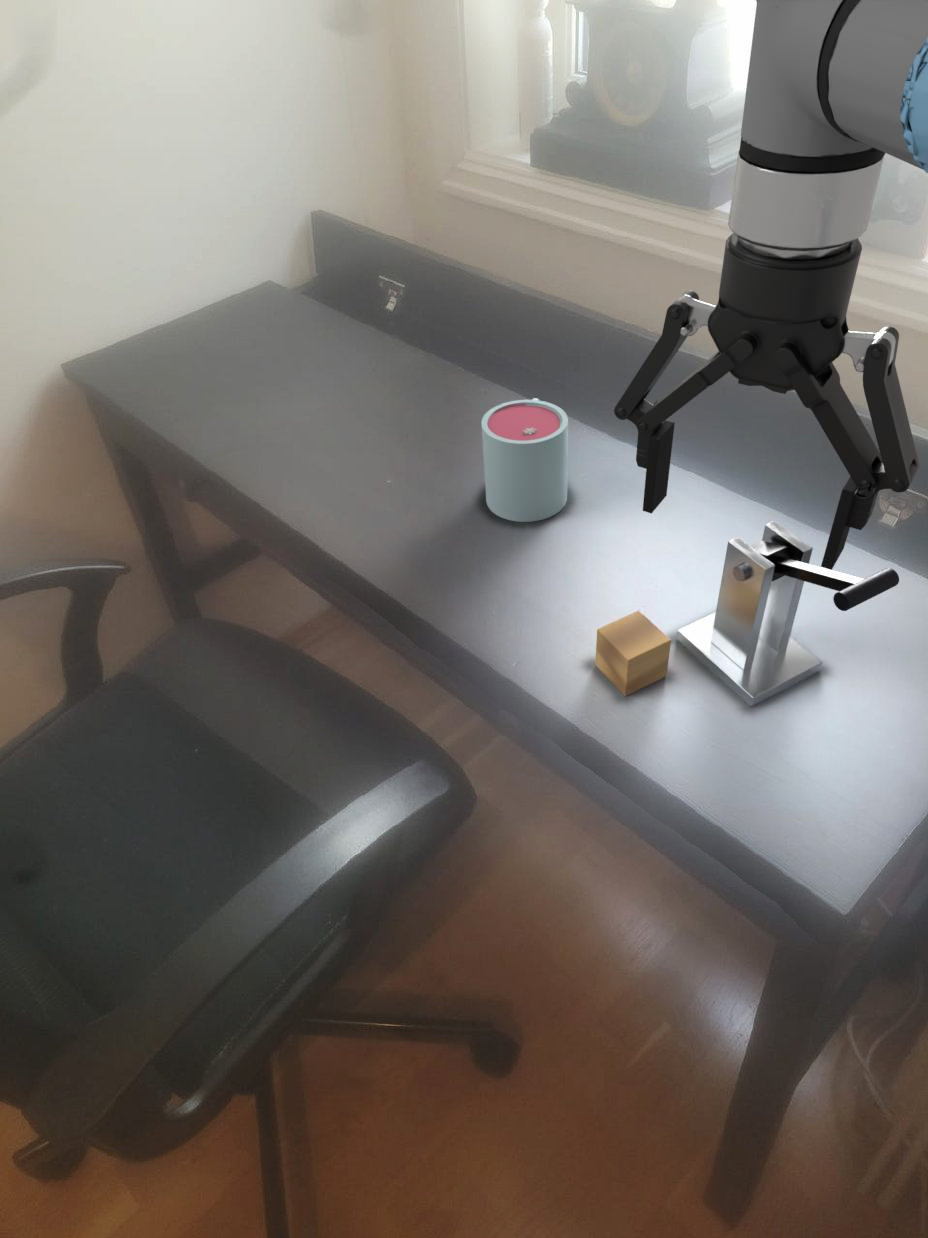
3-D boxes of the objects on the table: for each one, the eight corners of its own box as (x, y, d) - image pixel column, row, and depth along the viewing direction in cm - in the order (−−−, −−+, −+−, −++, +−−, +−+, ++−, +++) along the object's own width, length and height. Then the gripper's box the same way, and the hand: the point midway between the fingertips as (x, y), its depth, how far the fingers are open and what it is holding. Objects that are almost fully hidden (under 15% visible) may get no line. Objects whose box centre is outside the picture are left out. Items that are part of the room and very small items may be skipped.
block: (666, 676, 78) (671, 639, 74) (625, 696, 76) (628, 660, 73) (635, 646, 81) (638, 609, 78) (594, 665, 79) (596, 629, 76)
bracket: (820, 671, 77) (854, 559, 68) (750, 707, 74) (777, 596, 66) (742, 607, 83) (764, 498, 75) (676, 639, 81) (690, 529, 72)
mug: (560, 524, 95) (561, 446, 88) (478, 518, 97) (473, 440, 90) (576, 457, 105) (578, 381, 98) (501, 452, 107) (498, 378, 100)
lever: (900, 594, 63) (898, 564, 62) (850, 619, 62) (848, 589, 61) (778, 560, 74) (775, 534, 73) (733, 581, 72) (729, 555, 71)
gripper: (1050, 243, 46) (931, 553, 61) (626, 188, 57) (611, 460, 72) (1024, 297, 42) (902, 616, 56) (571, 225, 53) (566, 507, 68)
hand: (739, 529), depth 64 cm, fingers open, 13 cm apart
